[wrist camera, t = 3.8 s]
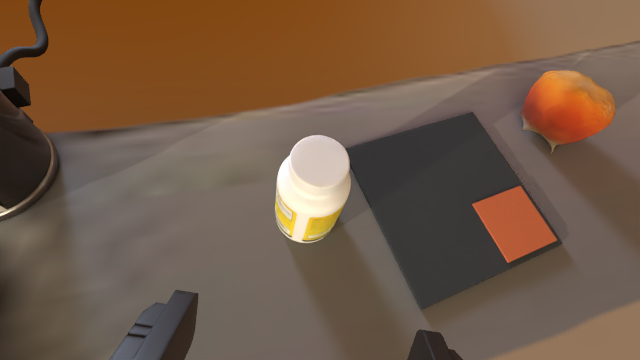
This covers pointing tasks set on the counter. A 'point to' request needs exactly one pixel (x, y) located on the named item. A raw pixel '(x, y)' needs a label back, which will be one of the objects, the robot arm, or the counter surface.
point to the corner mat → (449, 206)
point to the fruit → (567, 107)
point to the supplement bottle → (312, 188)
